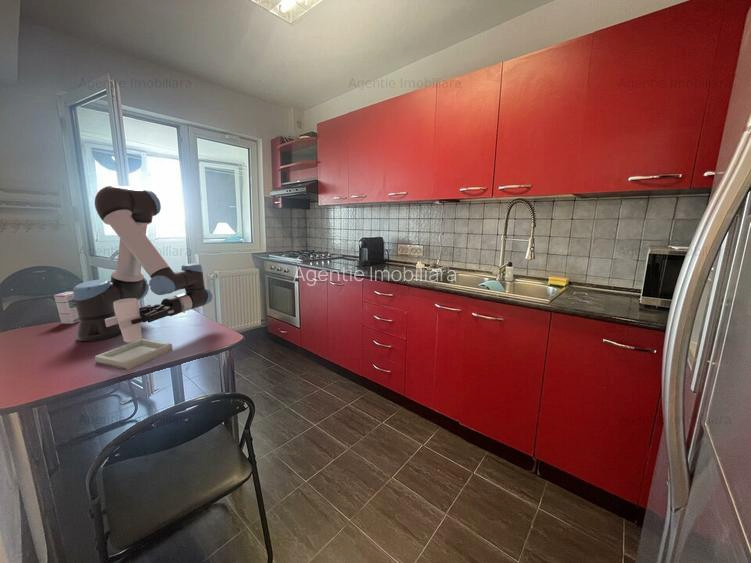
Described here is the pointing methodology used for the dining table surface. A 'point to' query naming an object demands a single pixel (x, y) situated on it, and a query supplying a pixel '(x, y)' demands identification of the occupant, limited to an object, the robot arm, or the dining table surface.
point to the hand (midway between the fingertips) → (113, 324)
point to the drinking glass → (125, 311)
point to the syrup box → (67, 308)
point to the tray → (133, 353)
